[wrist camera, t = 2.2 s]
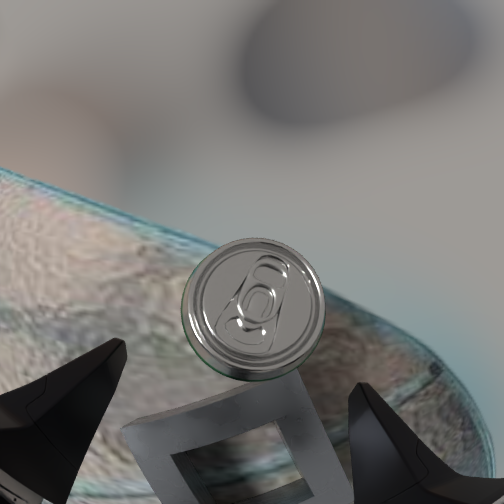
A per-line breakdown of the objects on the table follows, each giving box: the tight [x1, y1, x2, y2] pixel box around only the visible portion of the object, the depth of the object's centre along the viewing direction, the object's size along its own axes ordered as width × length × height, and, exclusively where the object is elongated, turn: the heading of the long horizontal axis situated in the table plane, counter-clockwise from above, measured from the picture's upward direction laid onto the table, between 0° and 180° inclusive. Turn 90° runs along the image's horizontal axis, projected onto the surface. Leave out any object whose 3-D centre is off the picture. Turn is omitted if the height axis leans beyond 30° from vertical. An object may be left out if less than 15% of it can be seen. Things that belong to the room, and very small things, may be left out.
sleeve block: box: [120, 368, 354, 504], centre depth 14 cm, size 12×12×4 cm
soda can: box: [181, 238, 326, 382], centre depth 14 cm, size 5×5×12 cm
